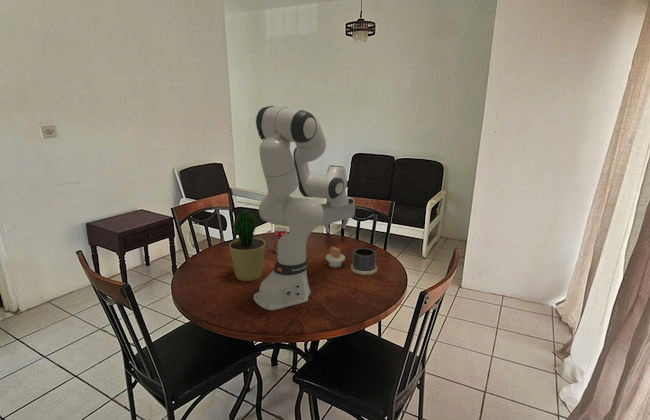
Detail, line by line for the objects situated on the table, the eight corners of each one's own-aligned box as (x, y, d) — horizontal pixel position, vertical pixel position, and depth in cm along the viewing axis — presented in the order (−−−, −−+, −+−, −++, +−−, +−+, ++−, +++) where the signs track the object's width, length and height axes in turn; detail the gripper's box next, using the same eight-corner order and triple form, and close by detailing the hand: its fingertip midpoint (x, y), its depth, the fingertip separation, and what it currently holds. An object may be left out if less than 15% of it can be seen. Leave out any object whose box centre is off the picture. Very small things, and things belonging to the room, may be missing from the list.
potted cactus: (259, 284, 153) (256, 215, 145) (224, 281, 156) (219, 213, 148) (271, 269, 167) (269, 206, 159) (240, 266, 170) (236, 204, 162)
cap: (334, 270, 167) (334, 253, 164) (321, 264, 173) (321, 248, 171) (348, 265, 172) (349, 249, 170) (336, 259, 179) (336, 243, 177)
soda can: (289, 249, 192) (288, 227, 188) (286, 254, 185) (285, 231, 182) (275, 248, 192) (275, 226, 189) (272, 253, 185) (271, 231, 182)
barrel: (363, 277, 160) (364, 259, 158) (345, 268, 169) (345, 251, 167) (382, 270, 167) (383, 253, 165) (363, 262, 176) (364, 245, 174)
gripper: (322, 206, 156) (322, 237, 160) (357, 198, 168) (356, 227, 172) (313, 203, 161) (313, 233, 164) (348, 196, 173) (347, 224, 177)
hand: (336, 230), depth 168 cm, fingers open, 8 cm apart
